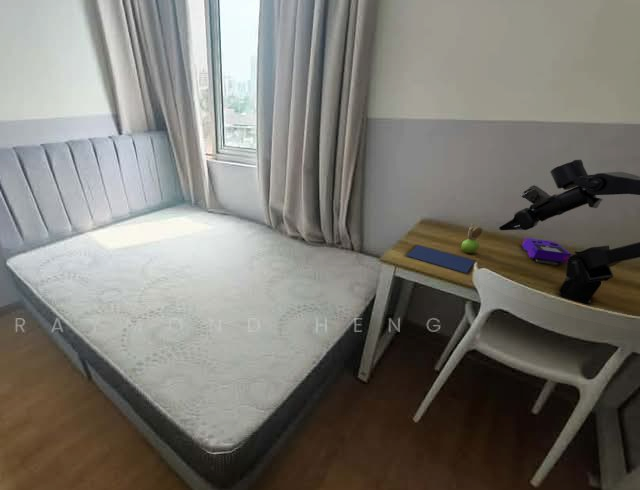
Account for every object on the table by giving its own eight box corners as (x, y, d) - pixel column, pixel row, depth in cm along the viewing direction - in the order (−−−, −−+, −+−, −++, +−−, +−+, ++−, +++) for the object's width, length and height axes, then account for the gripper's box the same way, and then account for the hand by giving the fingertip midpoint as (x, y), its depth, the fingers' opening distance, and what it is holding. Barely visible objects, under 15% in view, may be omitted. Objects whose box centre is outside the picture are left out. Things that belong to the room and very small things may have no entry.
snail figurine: (453, 250, 121) (465, 221, 114) (466, 248, 122) (478, 219, 116) (466, 256, 116) (478, 226, 110) (479, 254, 118) (492, 224, 111)
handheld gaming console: (555, 240, 118) (572, 252, 106) (549, 253, 120) (564, 266, 108) (525, 236, 121) (537, 248, 109) (519, 249, 124) (531, 261, 112)
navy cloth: (474, 261, 113) (475, 260, 113) (466, 273, 106) (466, 272, 106) (417, 245, 125) (417, 245, 125) (406, 256, 118) (406, 255, 118)
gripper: (560, 174, 98) (505, 200, 112) (538, 184, 89) (481, 211, 103) (580, 204, 97) (521, 227, 110) (559, 217, 88) (498, 240, 102)
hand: (505, 225), depth 106 cm, fingers open, 9 cm apart
